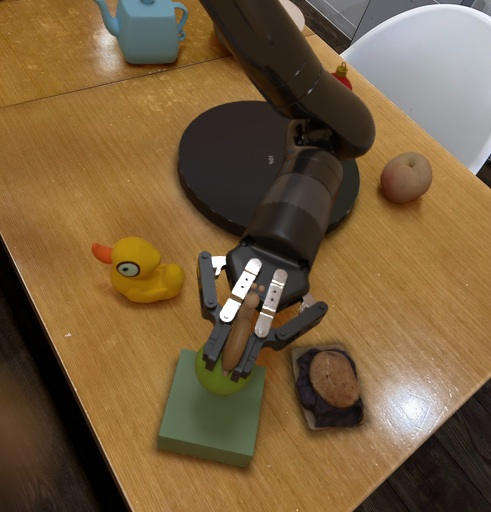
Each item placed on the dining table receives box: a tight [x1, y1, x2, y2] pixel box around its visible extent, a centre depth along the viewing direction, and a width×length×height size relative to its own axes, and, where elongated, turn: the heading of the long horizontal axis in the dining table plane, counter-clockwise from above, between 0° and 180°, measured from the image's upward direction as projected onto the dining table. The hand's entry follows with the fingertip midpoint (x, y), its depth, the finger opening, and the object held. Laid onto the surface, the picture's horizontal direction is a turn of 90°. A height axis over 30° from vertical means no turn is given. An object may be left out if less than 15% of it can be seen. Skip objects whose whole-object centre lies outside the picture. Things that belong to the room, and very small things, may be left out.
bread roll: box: [290, 343, 366, 433], centre depth 61 cm, size 11×8×4 cm
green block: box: [156, 347, 267, 469], centre depth 56 cm, size 10×10×5 cm
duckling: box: [90, 236, 186, 304], centre depth 62 cm, size 11×5×10 cm, turn 86°
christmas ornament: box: [329, 61, 354, 92], centre depth 92 cm, size 7×7×10 cm
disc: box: [176, 99, 361, 239], centre depth 81 cm, size 30×30×3 cm
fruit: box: [379, 151, 434, 204], centre depth 82 cm, size 8×8×8 cm
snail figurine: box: [195, 283, 265, 396], centre depth 43 cm, size 5×6×12 cm
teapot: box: [92, 0, 189, 65], centre depth 92 cm, size 12×18×12 cm
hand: (222, 372), depth 41 cm, fingers closed on snail figurine
